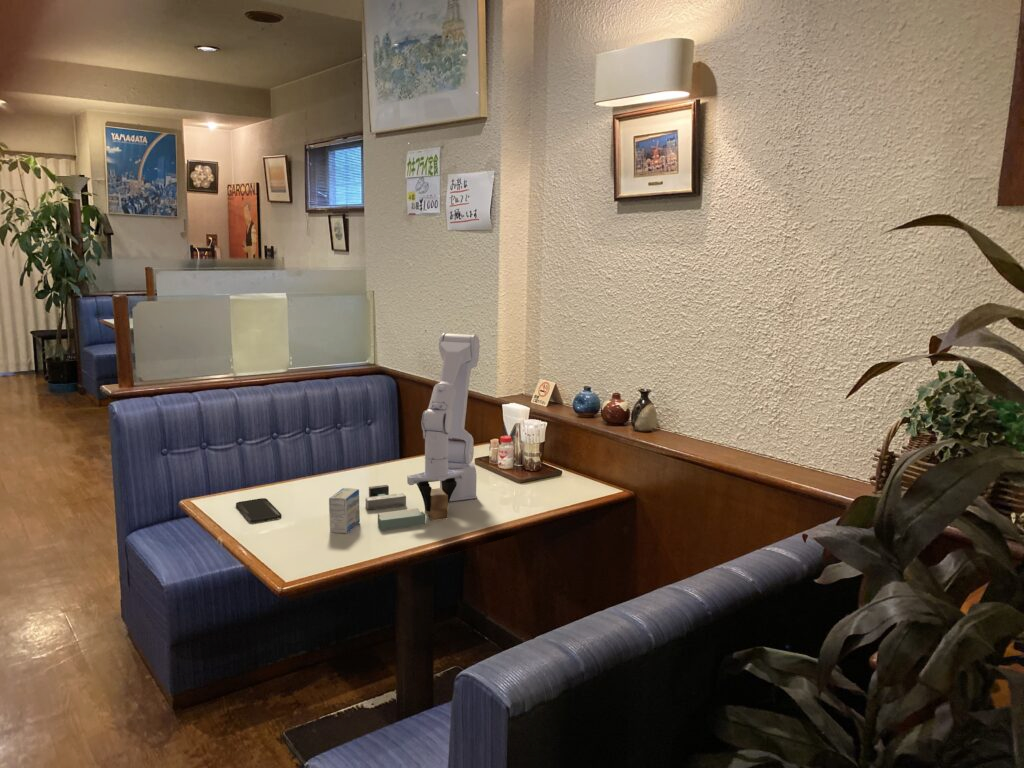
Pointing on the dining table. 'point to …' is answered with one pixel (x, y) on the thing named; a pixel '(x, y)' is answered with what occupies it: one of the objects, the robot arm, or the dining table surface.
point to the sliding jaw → (383, 498)
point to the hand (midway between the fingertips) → (436, 508)
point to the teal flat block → (400, 519)
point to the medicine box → (344, 510)
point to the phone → (258, 510)
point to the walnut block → (438, 505)
